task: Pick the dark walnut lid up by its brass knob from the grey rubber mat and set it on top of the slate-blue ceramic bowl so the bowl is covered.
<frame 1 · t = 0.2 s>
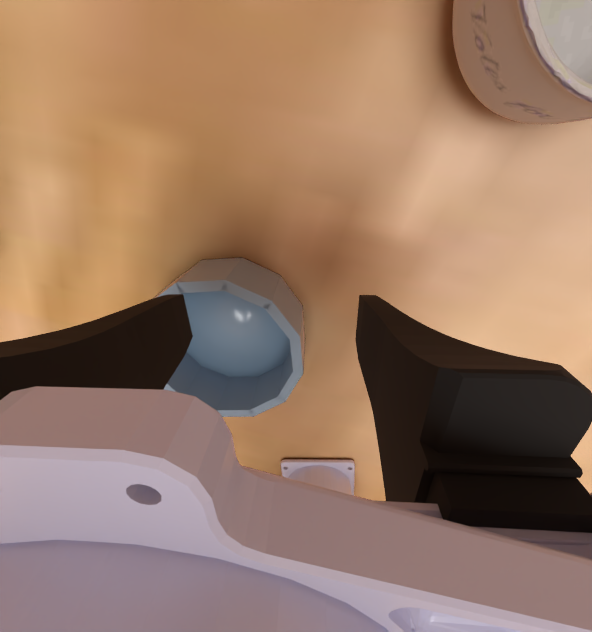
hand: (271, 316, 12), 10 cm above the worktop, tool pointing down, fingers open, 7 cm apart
bowl: (235, 325, 24), on the worktop
teacup: (568, 12, 14), on the worktop
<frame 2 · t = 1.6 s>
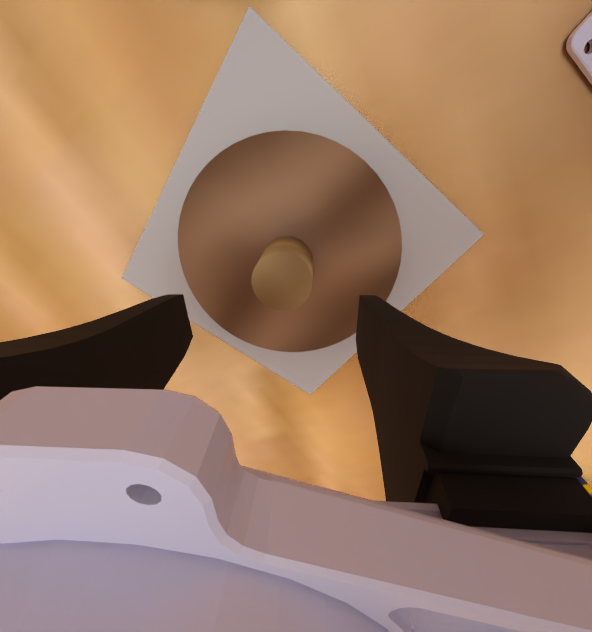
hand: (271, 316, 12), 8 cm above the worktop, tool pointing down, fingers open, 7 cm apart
lid: (288, 257, 19), resting on mat
mat: (289, 256, 19), on the worktop
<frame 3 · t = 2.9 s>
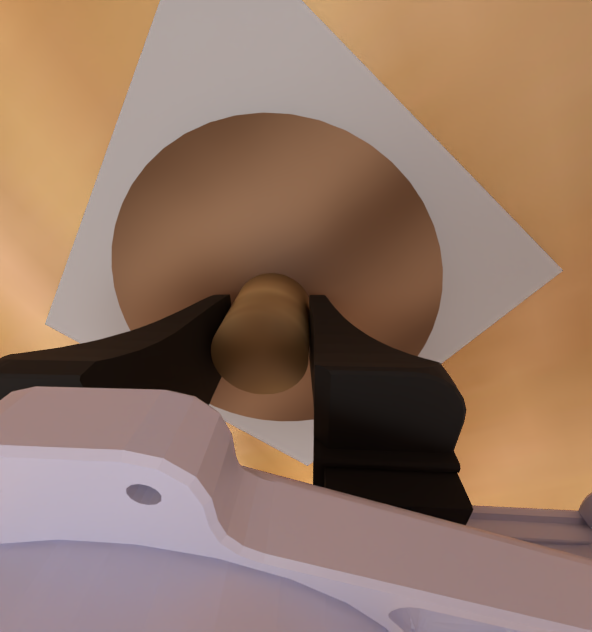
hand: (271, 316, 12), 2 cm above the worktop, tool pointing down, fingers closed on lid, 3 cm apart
lid: (275, 300, 13), resting on mat, touching gripper
mat: (277, 296, 14), on the worktop
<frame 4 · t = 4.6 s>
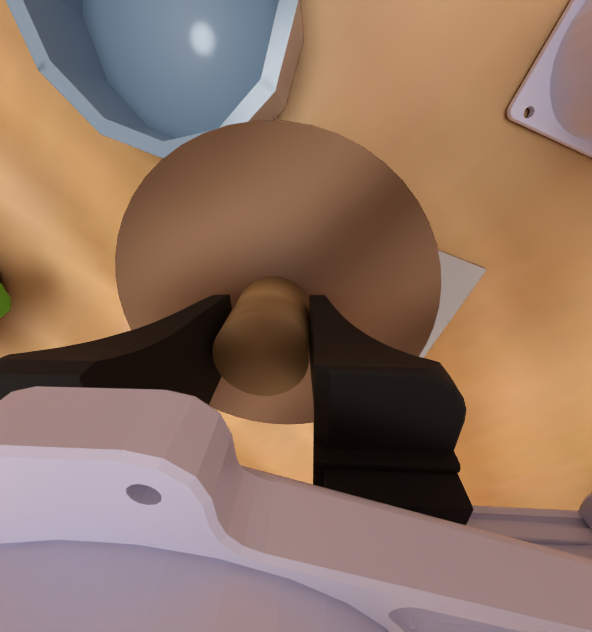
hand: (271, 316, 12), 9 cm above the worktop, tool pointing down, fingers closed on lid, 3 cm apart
bowl: (189, 29, 15), on the worktop
lid: (276, 303, 13), point 8 cm above the worktop, touching gripper
mat: (321, 327, 23), on the worktop
when the fingers open (7 cm above the worktop, at t = 6.5 s): lid stays where it is, resting on bowl.
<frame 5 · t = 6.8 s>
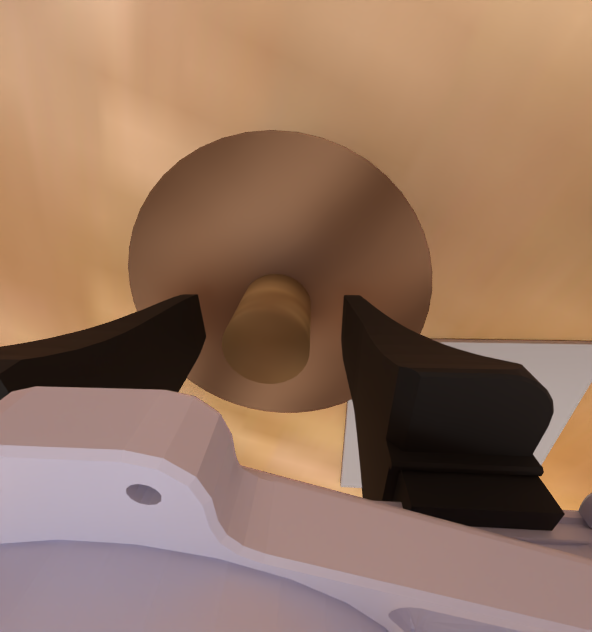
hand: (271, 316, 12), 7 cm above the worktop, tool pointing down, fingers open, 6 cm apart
lid: (279, 298, 14), point 4 cm above the worktop, touching bowl
mat: (448, 425, 24), on the worktop
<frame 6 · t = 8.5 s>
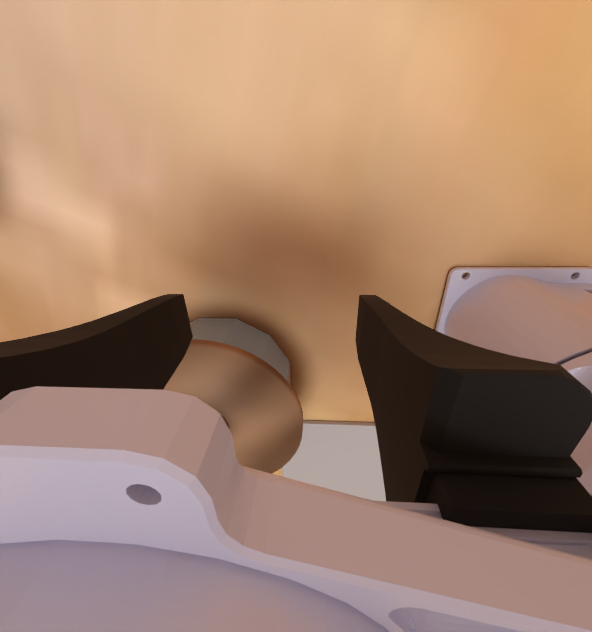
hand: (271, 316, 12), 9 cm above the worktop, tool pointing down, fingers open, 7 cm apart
bowl: (226, 374, 26), on the worktop
lid: (211, 416, 22), point 4 cm above the worktop, touching bowl
mat: (360, 476, 31), on the worktop
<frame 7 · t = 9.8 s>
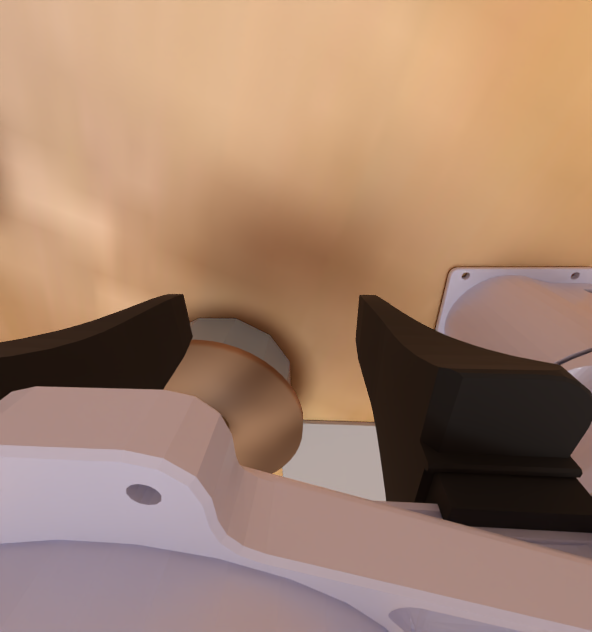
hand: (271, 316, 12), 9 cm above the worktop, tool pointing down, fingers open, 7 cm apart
bowl: (226, 374, 26), on the worktop
lid: (211, 416, 22), point 4 cm above the worktop, touching bowl
mat: (360, 477, 31), on the worktop
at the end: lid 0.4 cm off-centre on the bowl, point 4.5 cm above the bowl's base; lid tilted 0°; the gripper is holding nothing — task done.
